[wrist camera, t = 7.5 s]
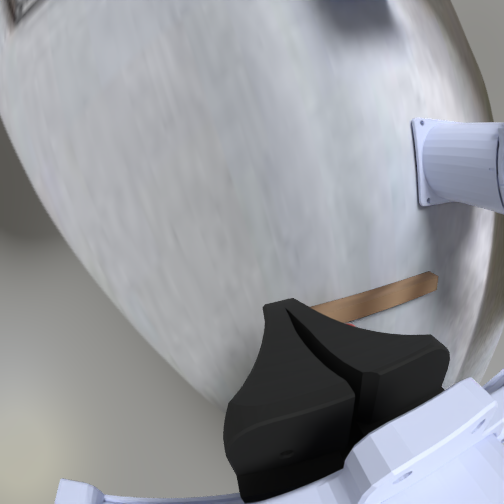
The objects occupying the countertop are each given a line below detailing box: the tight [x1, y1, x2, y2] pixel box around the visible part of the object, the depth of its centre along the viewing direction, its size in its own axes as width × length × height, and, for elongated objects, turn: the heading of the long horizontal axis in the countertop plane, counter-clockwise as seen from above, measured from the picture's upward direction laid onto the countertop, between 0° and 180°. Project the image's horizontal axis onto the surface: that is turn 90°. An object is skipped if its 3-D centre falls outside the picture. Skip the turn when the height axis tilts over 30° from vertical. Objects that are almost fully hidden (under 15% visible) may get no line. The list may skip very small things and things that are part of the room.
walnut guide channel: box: [310, 271, 438, 323], centre depth 24 cm, size 16×10×2 cm, turn 99°
